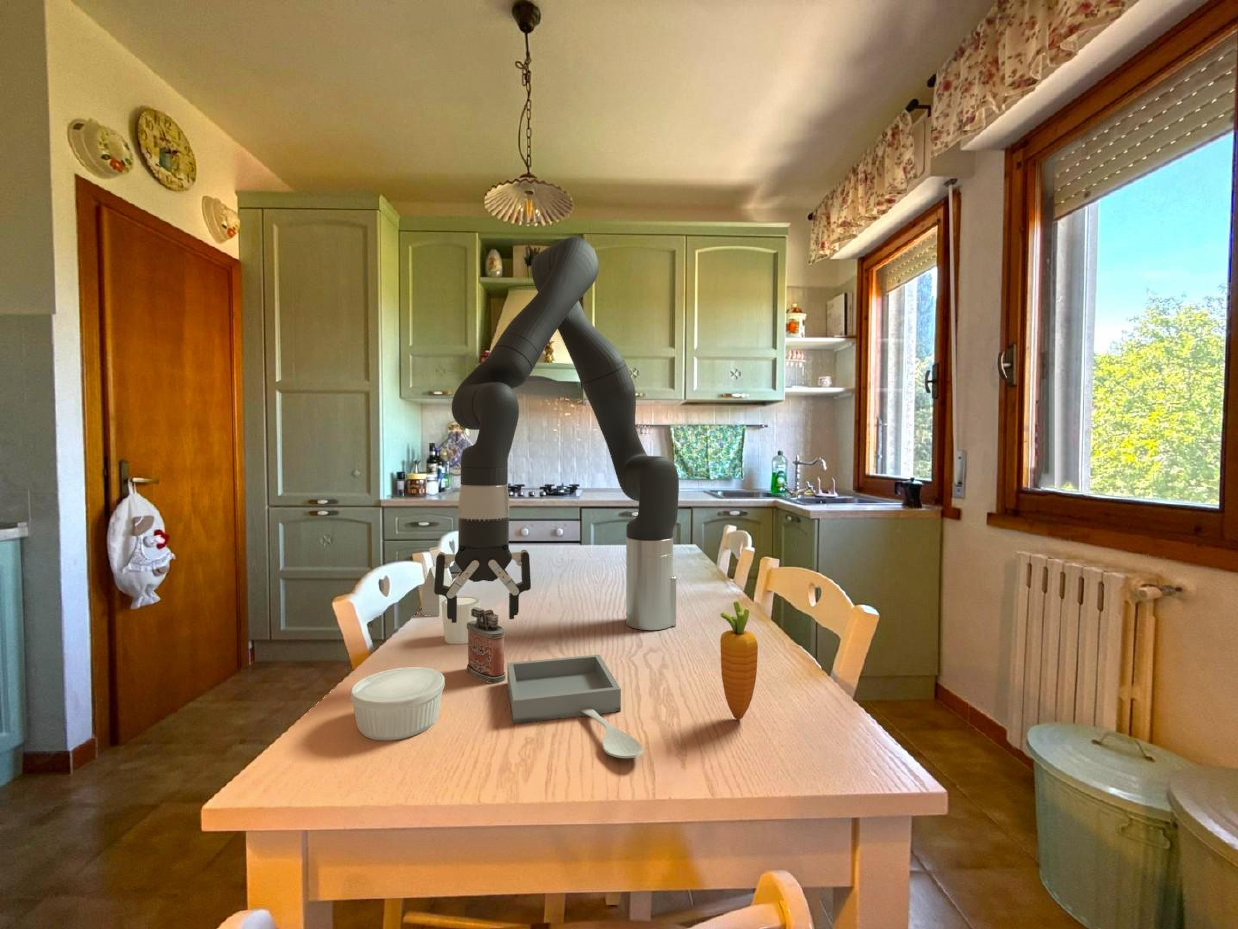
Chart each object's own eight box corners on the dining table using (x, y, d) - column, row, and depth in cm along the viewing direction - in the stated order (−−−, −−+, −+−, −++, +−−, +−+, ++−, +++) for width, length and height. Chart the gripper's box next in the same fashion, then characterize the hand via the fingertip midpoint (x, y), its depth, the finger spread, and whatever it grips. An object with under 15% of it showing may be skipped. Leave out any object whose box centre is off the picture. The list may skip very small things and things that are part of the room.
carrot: (750, 733, 70) (751, 611, 69) (712, 723, 72) (713, 605, 72) (763, 717, 74) (764, 602, 73) (726, 707, 76) (727, 597, 76)
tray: (599, 673, 88) (599, 654, 88) (620, 711, 75) (620, 689, 75) (507, 683, 84) (507, 663, 84) (513, 724, 72) (513, 700, 72)
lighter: (510, 678, 86) (510, 613, 86) (491, 685, 84) (491, 618, 83) (480, 664, 92) (480, 603, 91) (461, 670, 89) (461, 607, 89)
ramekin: (376, 703, 78) (375, 665, 78) (456, 704, 78) (456, 666, 78) (332, 746, 67) (331, 701, 67) (426, 747, 67) (426, 703, 66)
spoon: (619, 775, 61) (618, 760, 61) (554, 698, 79) (554, 686, 79) (653, 764, 63) (653, 749, 62) (582, 691, 81) (581, 680, 81)
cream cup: (485, 633, 107) (485, 596, 107) (472, 646, 100) (472, 606, 100) (450, 632, 108) (450, 595, 108) (435, 644, 101) (434, 605, 101)
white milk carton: (451, 607, 125) (451, 562, 124) (439, 616, 118) (439, 568, 118) (435, 607, 125) (435, 561, 125) (422, 616, 118) (421, 568, 118)
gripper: (528, 511, 92) (527, 610, 93) (436, 512, 89) (436, 615, 89) (533, 516, 85) (532, 624, 85) (433, 517, 82) (432, 630, 82)
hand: (483, 619), depth 87 cm, fingers open, 8 cm apart
